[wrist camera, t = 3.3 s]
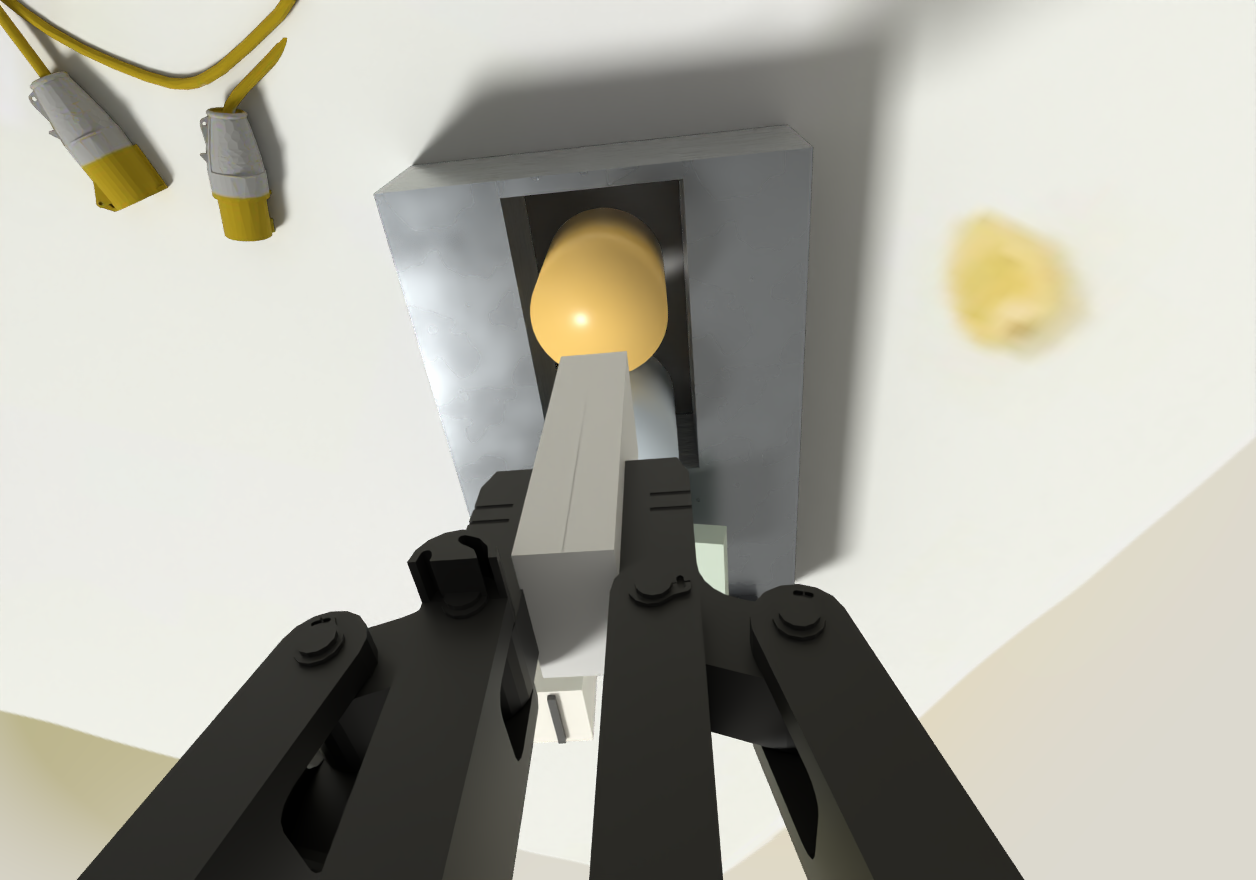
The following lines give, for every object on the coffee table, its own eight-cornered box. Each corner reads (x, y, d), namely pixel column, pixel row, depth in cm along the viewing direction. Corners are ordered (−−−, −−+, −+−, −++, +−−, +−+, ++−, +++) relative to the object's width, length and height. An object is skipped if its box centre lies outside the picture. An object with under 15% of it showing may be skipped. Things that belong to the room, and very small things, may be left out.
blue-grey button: (561, 351, 25) (548, 410, 21) (670, 342, 25) (674, 399, 21) (576, 441, 27) (567, 508, 24) (676, 433, 27) (682, 500, 23)
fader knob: (530, 627, 28) (518, 698, 25) (587, 624, 28) (581, 694, 25) (543, 676, 30) (533, 747, 27) (597, 673, 30) (592, 744, 27)
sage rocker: (545, 513, 26) (536, 530, 25) (726, 526, 25) (723, 544, 24) (559, 580, 28) (552, 597, 27) (728, 596, 27) (726, 615, 26)
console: (411, 165, 24) (359, 204, 19) (788, 124, 23) (822, 155, 18) (527, 605, 36) (511, 690, 31) (776, 590, 35) (796, 675, 30)
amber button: (537, 214, 22) (517, 255, 19) (658, 201, 22) (662, 241, 18) (556, 326, 24) (543, 382, 21) (667, 316, 24) (672, 371, 21)
